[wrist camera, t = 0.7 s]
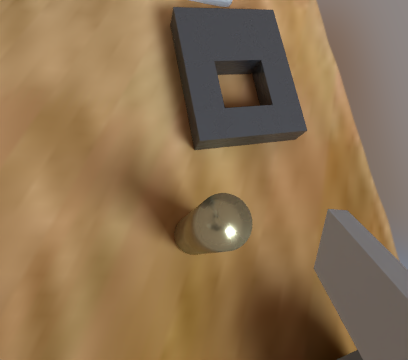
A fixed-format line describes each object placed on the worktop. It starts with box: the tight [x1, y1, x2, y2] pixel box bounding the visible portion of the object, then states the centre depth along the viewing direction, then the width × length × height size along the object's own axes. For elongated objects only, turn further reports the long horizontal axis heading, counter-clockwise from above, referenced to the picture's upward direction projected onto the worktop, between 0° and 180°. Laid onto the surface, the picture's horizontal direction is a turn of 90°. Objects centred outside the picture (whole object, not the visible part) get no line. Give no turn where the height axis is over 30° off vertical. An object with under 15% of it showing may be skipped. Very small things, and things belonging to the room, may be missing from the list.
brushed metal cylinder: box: [174, 193, 252, 255], centre depth 29 cm, size 4×4×12 cm
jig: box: [170, 7, 307, 150], centre depth 39 cm, size 18×14×3 cm
